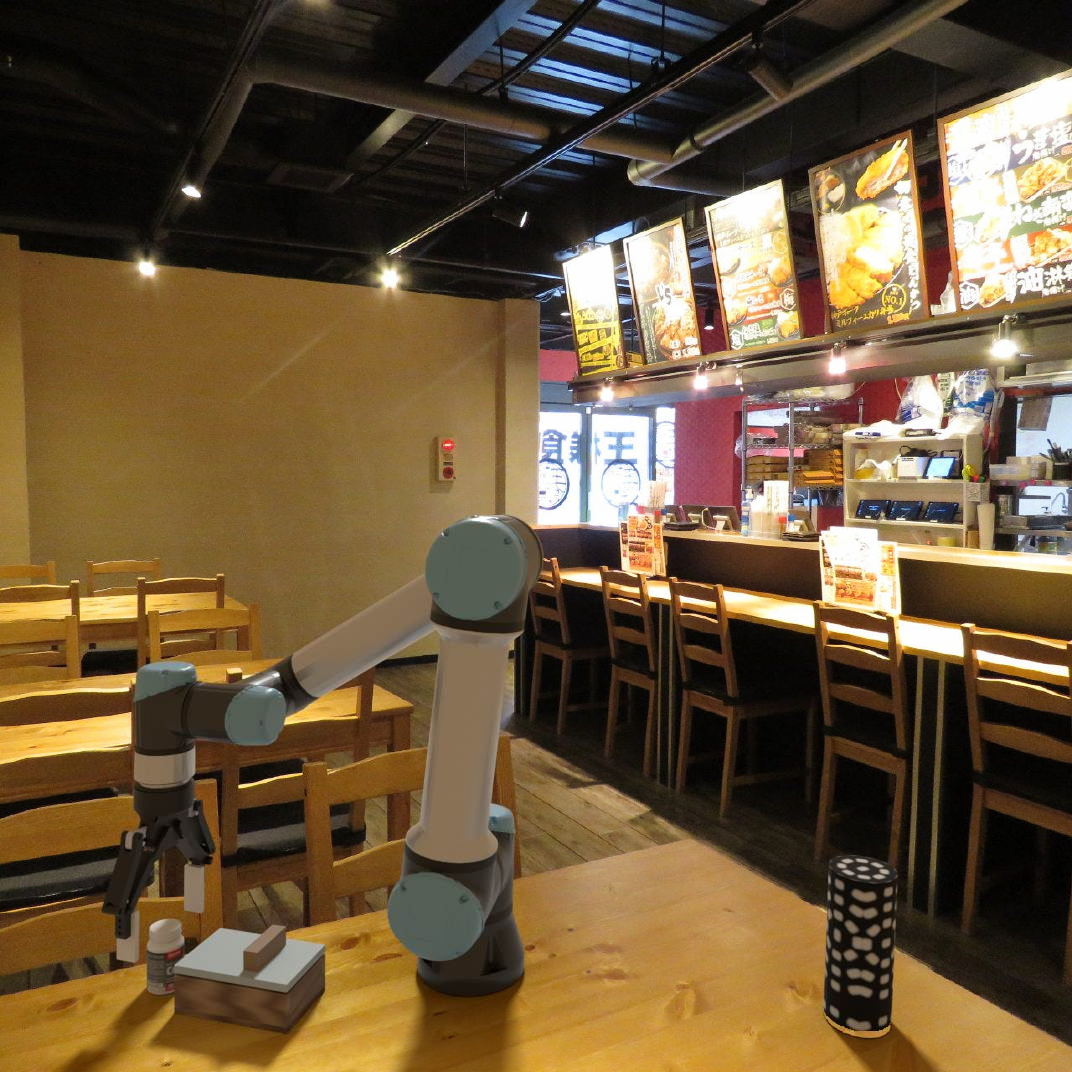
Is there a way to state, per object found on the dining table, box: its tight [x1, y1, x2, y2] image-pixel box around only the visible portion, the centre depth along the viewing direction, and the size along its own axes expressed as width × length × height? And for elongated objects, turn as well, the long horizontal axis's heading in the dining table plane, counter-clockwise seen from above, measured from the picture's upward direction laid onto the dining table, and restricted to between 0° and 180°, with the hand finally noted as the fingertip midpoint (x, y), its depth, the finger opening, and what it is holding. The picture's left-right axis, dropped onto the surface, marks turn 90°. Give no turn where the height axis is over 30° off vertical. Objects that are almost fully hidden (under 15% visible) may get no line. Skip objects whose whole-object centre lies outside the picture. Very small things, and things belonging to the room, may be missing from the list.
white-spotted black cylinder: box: [822, 854, 899, 1031], centre depth 115 cm, size 8×8×20 cm
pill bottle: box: [146, 918, 185, 996], centre depth 120 cm, size 5×5×8 cm
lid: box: [174, 924, 326, 993], centre depth 116 cm, size 16×10×4 cm, turn 76°
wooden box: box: [173, 953, 326, 1035], centre depth 117 cm, size 16×10×5 cm, turn 76°
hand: (162, 934), depth 120 cm, fingers open, 13 cm apart
